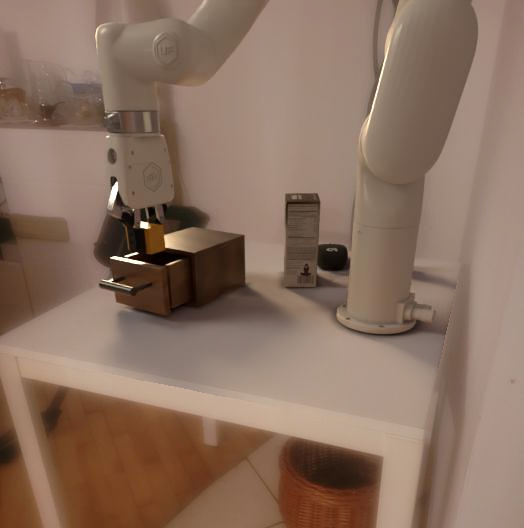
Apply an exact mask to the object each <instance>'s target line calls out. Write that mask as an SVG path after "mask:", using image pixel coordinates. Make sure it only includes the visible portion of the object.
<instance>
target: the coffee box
mask: <svg viewBox="0 0 524 528" xmlns="http://www.w3.org/2000/svg"><path fill="white" fill-rule="evenodd" d="M321 204H322V202H321V199H320V196H319V193H317V192H303V193H301V192H300V193H299V192H295V193H293V192H292V193H291V192H290V193H284V223H283V225H284V226H283V227H284V229H283V231H284V232H283V282H284V288H316V287H317V276H318V266H317V259H318V245H319V240H320V220H321Z"/></svg>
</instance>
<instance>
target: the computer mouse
mask: <svg viewBox="0 0 524 528" xmlns="http://www.w3.org/2000/svg"><path fill="white" fill-rule="evenodd" d="M348 259H349V251H348V248H347V246H346V245H344V244H342V243H341V244H340V243H332V242H327V243H320V244H319V243H318V259H317V268H320V269H322V270H326V271H339V270H343V269H344V268H345V267H346V266H347V264H348Z"/></svg>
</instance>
